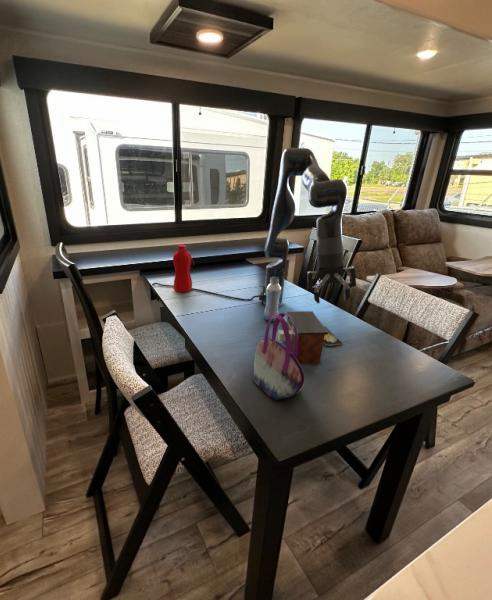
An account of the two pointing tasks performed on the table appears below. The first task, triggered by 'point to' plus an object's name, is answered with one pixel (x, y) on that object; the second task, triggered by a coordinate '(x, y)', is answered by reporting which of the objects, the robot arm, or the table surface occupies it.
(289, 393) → the handbag
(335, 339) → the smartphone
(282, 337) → the piano key
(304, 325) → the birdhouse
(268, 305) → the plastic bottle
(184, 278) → the water bottle
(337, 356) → the table surface
